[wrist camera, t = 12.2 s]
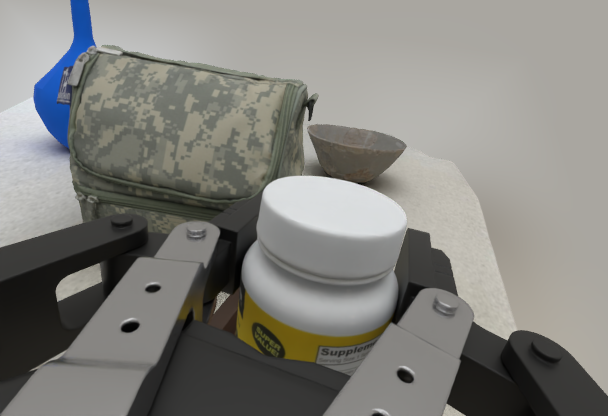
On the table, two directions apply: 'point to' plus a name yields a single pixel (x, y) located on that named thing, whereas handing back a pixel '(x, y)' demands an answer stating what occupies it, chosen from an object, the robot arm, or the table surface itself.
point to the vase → (49, 84)
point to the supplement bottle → (320, 271)
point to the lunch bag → (176, 135)
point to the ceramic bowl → (354, 151)
